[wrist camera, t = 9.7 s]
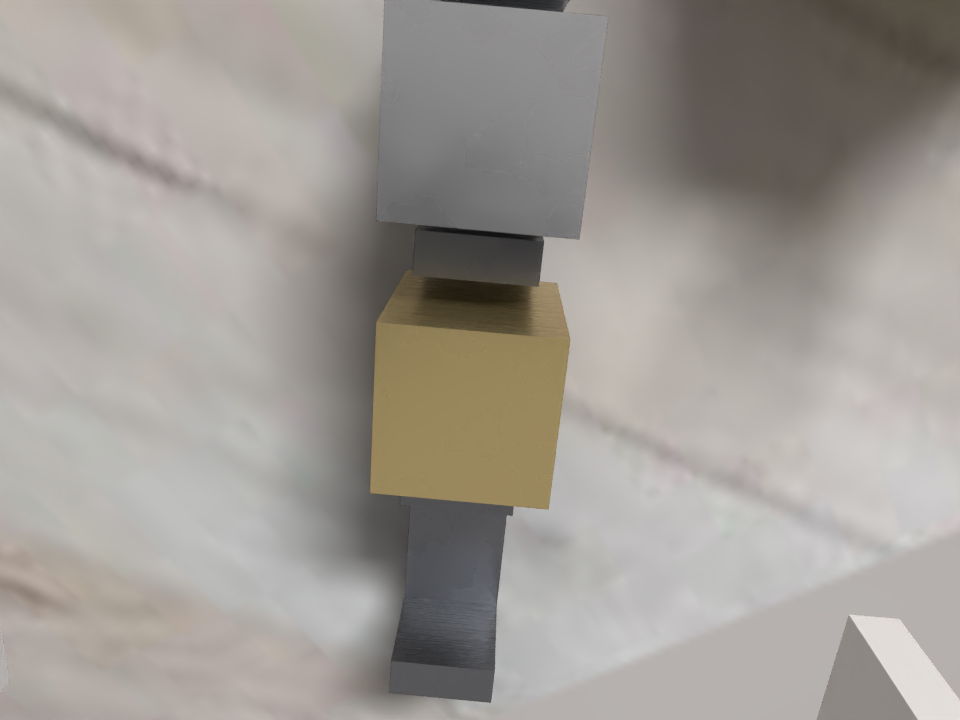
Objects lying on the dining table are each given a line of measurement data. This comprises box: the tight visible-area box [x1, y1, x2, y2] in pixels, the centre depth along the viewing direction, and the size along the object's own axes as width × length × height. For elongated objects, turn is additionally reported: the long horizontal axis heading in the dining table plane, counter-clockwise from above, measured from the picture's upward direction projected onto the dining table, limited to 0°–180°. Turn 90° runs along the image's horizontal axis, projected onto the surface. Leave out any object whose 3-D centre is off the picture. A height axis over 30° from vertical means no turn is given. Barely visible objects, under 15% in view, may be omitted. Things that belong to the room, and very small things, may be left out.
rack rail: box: [389, 0, 570, 703], centre depth 25 cm, size 4×24×6 cm, turn 175°
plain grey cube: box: [376, 0, 609, 239], centre depth 20 cm, size 5×5×6 cm
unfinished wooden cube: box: [370, 270, 570, 509], centre depth 23 cm, size 5×5×6 cm
